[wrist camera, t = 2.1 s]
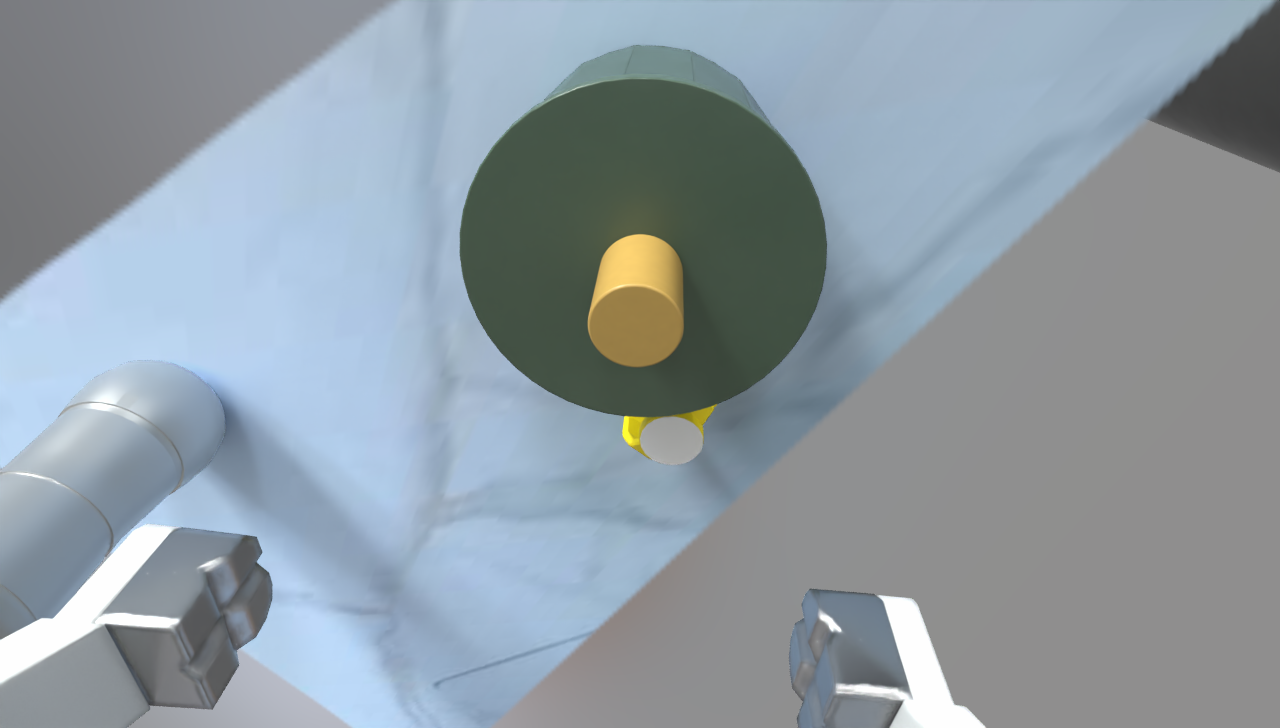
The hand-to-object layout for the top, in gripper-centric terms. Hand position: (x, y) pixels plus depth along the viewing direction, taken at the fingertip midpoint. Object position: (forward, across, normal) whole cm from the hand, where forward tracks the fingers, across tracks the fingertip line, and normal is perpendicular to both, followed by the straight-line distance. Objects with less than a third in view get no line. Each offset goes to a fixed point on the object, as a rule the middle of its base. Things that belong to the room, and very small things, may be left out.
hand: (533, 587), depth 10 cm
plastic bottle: (+22, +23, +15) cm, 35 cm away
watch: (+22, -3, +10) cm, 24 cm away
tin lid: (+13, -1, +1) cm, 13 cm away
